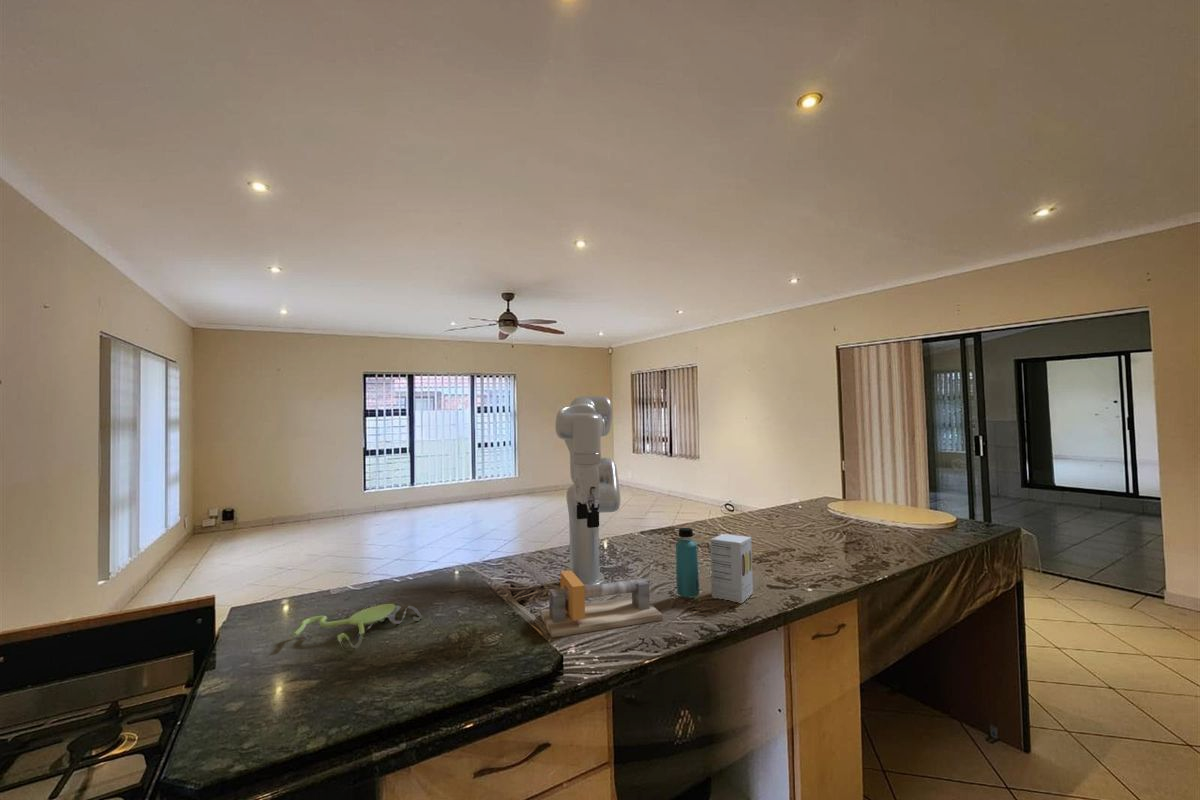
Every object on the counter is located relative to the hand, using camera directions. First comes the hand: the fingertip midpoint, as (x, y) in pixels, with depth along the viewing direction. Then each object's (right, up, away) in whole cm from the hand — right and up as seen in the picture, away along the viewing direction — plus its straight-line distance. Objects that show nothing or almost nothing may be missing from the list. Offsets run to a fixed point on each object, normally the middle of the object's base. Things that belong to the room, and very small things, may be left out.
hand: (587, 522), depth 124 cm
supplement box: (+42, -24, +10) cm, 50 cm away
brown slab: (-4, -21, -6) cm, 22 cm away
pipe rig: (+3, -24, -4) cm, 24 cm away
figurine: (-56, -25, -10) cm, 62 cm away
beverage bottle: (+29, -24, +8) cm, 39 cm away
